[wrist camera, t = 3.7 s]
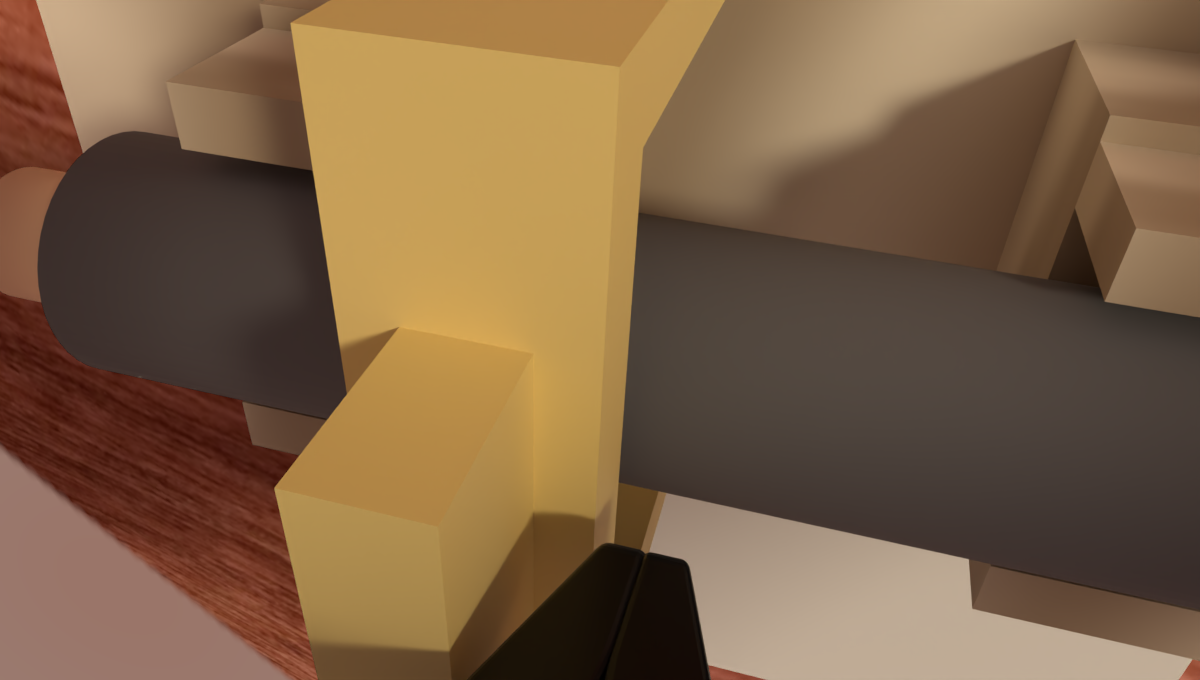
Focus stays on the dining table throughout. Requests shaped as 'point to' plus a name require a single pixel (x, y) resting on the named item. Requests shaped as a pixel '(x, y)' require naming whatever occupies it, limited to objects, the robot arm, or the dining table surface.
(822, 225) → the holder
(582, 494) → the strap
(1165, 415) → the dark grey cylinder rod
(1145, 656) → the mat
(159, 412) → the dining table surface
